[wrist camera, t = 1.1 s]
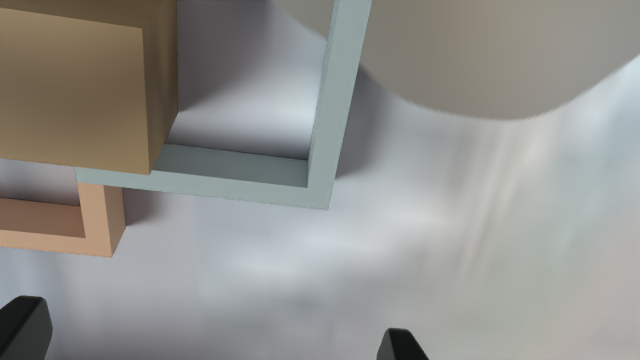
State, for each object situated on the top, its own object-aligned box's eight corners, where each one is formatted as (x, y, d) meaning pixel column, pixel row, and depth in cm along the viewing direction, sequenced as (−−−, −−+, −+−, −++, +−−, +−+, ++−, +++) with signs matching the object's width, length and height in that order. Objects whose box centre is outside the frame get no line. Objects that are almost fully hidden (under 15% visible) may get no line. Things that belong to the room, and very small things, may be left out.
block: (178, 111, 20) (149, 175, 17) (23, 91, 20) (-43, 152, 16) (177, -16, 17) (141, 28, 14) (-5, -44, 17) (-93, -7, 13)
